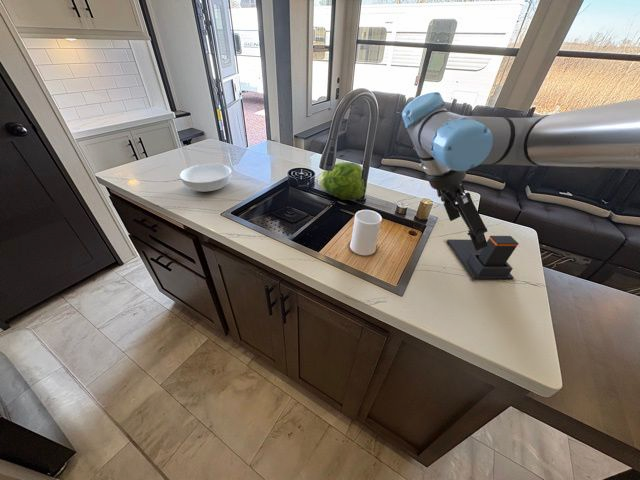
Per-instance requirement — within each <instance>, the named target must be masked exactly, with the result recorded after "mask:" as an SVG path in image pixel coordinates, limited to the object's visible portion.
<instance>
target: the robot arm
mask: <svg viewBox="0 0 640 480" xmlns="http://www.w3.org/2000/svg"><path fill="white" fill-rule="evenodd" d="M401 117H402V119H403V120H402V121H403V123H404V128H405V130H406V131H407V132H408V133H407V134H408V135H409V137H410V140H411V142H412V144H413V146H414V149H415V151H416V154H417V156H418V159H419V160H420V163H419V164H418V165H419V168H420V169H421V168H422V169H423V171H424V173H425V174H426V178H427V180H428V183H429V185H430V187H431V188H432V189H433V190H436V195H437V197H438V198H440V201H441V202H442V203H443V206H444V209H445V212H446V214H447V216H448V219H449V221H450V222H452V221H455V220H457V219H458V218H461V219H462V220H463V222H464V224H465V225H466V227H467V229H468V231H467V233H466V234H467V236H469V237H470V240H472V243H473V246H474V248H475V250H476V251H477V250H480V249H482V248H484V247H486V246H488V245H487V241H488V240H487V238H486V236H485V234H486V233H488V228H487V227H486V225H485V223H484V221H483V219H482V217H481V215H480V213H479V210H478V209H477V208H476V205H475V203H474V201H473V199H472V196H471V193H470V192H469V191H465V190H466V189H465V187H464V186H463V184H462V182H463V181H464V179H465V178H466V175H467V171H468V170H471V169H473V168H476V167H478V166H479V165H507V166H508V165H509V166H524V167H526V166H528V167H540V166H545V167H571V168H572V167H573V168H594V169H595V168H597V169H621V170H623V169H624V170H640V98H635V99H629V100H623V101H619V102H613V103H606V104H600V105H595V106H590V107H584V108H578V109H572V110H566V111H561V112H556V113H551V114H545V115H544V114H543V115H539V116H533V117H532V116H531V117H505V116H504V117H503V116H502V117H499V116H475V115H462V114H459V113H455V112H452V111H450V110H447V109H446V102H445V100H444V99H443V96H442V94H441V92H439V91H436V90H432V91H428V92H425V93H422V94H421V95H419V96H416V97H415V98H413V100H411V101H410V102H409V103H407V104H406V105H405V107H403V109H402V112H401Z"/></svg>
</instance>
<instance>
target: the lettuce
mask: <svg viewBox="0 0 640 480" xmlns="http://www.w3.org/2000/svg"><path fill="white" fill-rule="evenodd" d="M334 163H335V166H334V169H333V171H325V169H324V170H323V171H322V172H321V173H320V175H319V177H318V178H317V183H318V186H319V187H320V188H321V189H322V190H324V191H326V192H327V193H328V194H329V195H330V196H332V195H333V196H332V197H334V198H337V197H338V199H340V200H342V201H353V200H360V199H361V198H363V196H365V194H364V189H365V193H366V192H367V188H368V182H367V183H366V188H365V187H364V180H363V179H361V176H362V169H364V167H362V165H360V164H359V163H356V162H351V161H343V162H334Z"/></svg>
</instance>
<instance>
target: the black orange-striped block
mask: <svg viewBox="0 0 640 480" xmlns="http://www.w3.org/2000/svg"><path fill="white" fill-rule="evenodd" d="M486 241H487V245H488V246H486V247H484V248H483V250H482V251H481V253H480V255H479V257H478V258H477V259H478V260H479V261H480V263H481V264H482V265H483V267H503V266H504V265H505V263H506V262H507V263H508V261H509V259H510V258H511V256H512V254H513V253H514V251H515V250H516V249H517V247H518V246H519V242H518V241H517V240H516V239H515V238H514V237H513V236H512V235H490V236H489V237H488V239H487V240H486Z"/></svg>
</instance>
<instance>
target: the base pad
mask: <svg viewBox="0 0 640 480" xmlns="http://www.w3.org/2000/svg"><path fill="white" fill-rule="evenodd" d="M446 243H447V245H448V246H449V248H450V249H451V250H452V252H453V253H454V255H455V256H456V258H457V259H458V260H459V262H460V263H461V265H462V266H463V267H464V270H466V272H467V274H468V275H469V276H470V278H471V279H472V281H513V280H514V276H513V275H512V274H511V272H512V270H513V269H514V268H513V267H512V266H511V265H510V263H509V262H508V261H507V262H506V263H505V265H504V266H503V267H483V265H482V264H481V263H480V261H479V260H478V259H477V258H478V257H479V255H480V253H481V251H482V250H483V248H482V249H480V250H477V251H476V250H475V248H474V246H473V243H472V240H471V239H447V240H446Z"/></svg>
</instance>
